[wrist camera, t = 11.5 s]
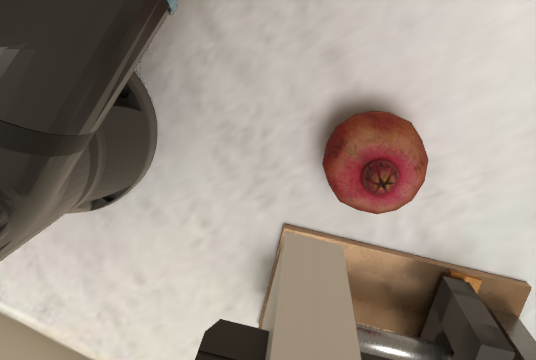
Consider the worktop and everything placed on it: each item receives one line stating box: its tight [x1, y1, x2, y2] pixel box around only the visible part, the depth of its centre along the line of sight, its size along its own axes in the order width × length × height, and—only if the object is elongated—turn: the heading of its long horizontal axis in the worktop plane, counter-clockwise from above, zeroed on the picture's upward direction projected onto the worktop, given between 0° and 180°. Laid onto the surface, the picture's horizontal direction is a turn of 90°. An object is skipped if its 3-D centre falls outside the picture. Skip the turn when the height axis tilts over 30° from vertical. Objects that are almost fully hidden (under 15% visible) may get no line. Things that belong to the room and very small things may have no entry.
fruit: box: [322, 111, 428, 214], centre depth 37 cm, size 8×8×10 cm
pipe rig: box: [258, 224, 536, 360], centre depth 42 cm, size 23×11×9 cm, turn 77°
